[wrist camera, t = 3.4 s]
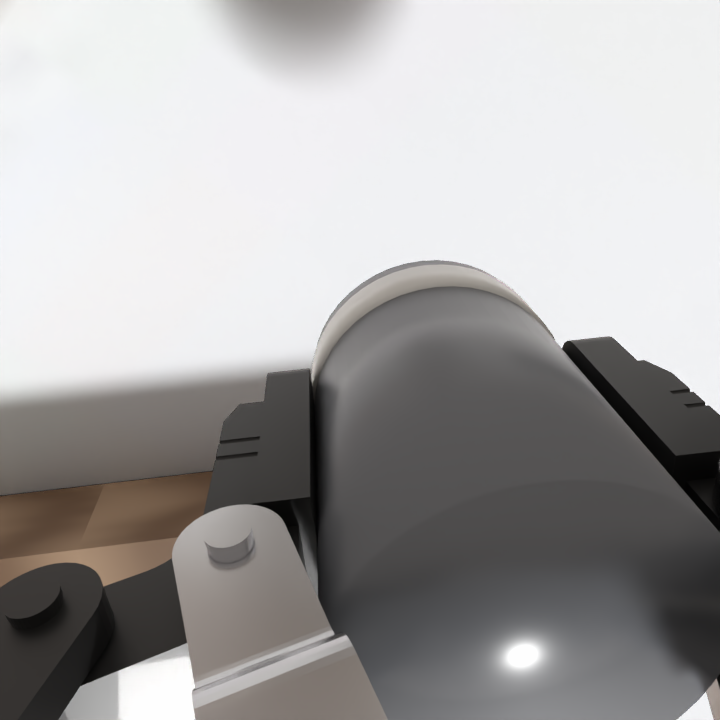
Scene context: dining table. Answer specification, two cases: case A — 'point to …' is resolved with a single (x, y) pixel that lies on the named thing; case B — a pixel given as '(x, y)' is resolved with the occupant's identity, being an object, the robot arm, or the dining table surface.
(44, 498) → the end holder
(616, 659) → the connector plug
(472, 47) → the dining table surface
